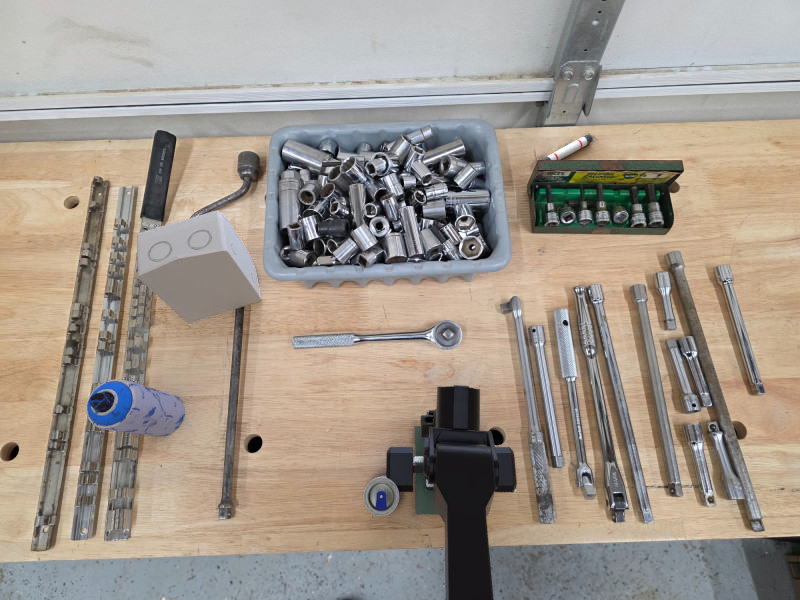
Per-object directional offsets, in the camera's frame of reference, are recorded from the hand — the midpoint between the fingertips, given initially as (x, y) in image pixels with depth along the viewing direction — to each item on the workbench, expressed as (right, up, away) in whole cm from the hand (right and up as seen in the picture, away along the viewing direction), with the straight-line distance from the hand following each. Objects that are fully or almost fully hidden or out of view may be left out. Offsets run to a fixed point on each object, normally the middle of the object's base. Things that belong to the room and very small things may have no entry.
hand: (445, 468), depth 74 cm
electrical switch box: (-44, +32, +18) cm, 57 cm away
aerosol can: (-50, +7, +8) cm, 51 cm away
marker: (+28, +60, +26) cm, 71 cm away
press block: (0, -2, +4) cm, 4 cm away
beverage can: (-10, -5, +3) cm, 11 cm away
